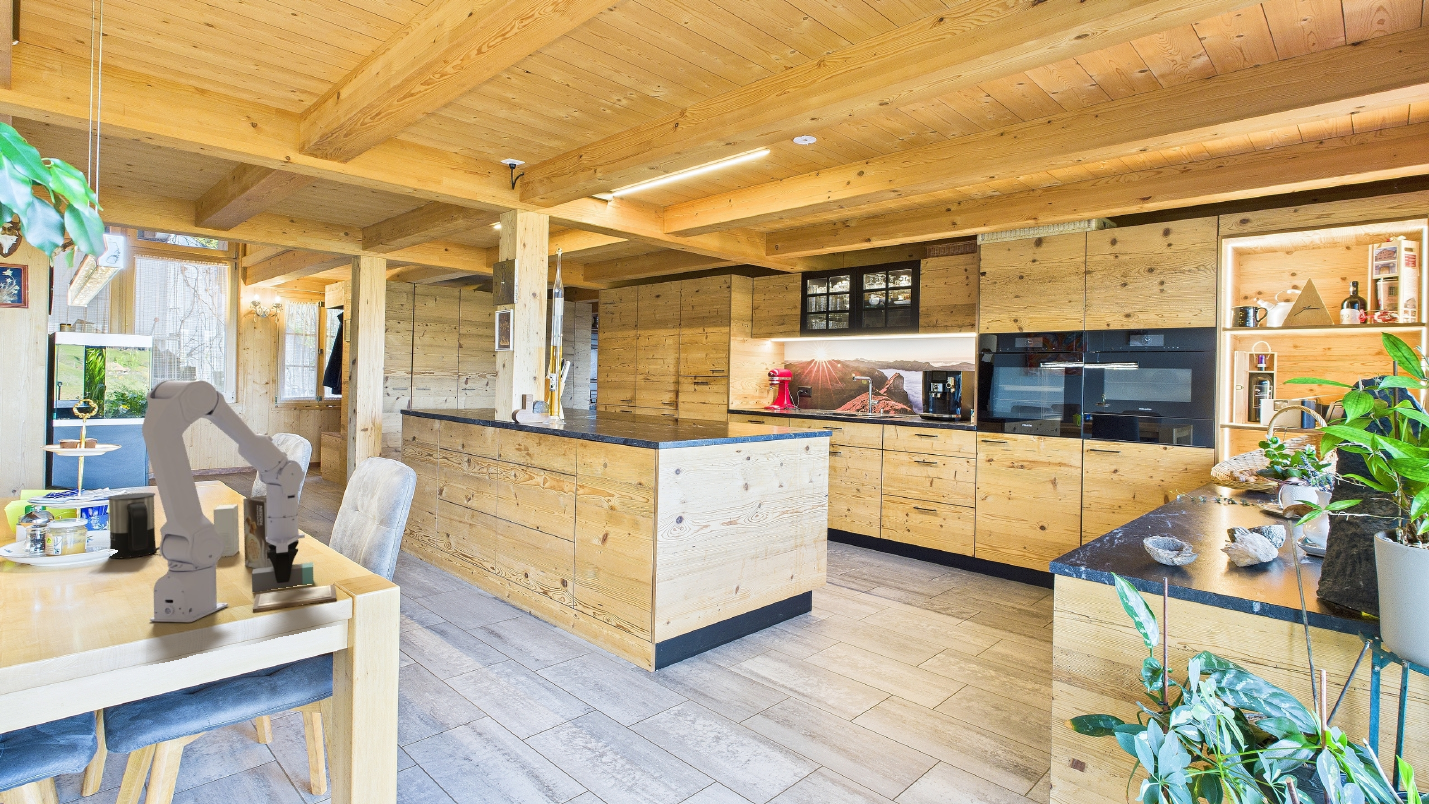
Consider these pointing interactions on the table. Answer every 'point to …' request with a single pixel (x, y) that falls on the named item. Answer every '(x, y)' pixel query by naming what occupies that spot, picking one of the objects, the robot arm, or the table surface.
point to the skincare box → (227, 527)
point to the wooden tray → (294, 597)
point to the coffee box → (256, 532)
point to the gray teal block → (299, 576)
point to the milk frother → (132, 525)
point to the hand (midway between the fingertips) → (283, 578)
